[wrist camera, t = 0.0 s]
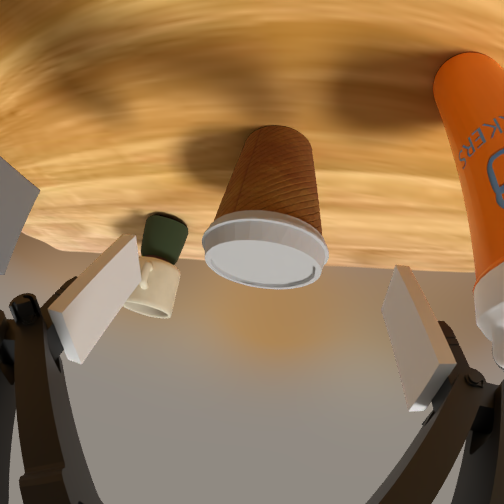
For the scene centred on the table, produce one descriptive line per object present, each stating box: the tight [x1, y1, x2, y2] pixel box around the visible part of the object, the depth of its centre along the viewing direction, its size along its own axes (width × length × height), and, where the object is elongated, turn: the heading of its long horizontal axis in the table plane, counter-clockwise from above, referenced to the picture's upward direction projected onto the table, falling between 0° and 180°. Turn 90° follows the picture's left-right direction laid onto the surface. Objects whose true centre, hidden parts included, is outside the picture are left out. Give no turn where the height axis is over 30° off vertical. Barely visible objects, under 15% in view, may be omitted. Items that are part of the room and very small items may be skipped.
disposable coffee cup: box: [202, 126, 329, 289], centre depth 26 cm, size 10×10×12 cm
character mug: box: [123, 215, 188, 318], centre depth 41 cm, size 11×7×13 cm, turn 171°
